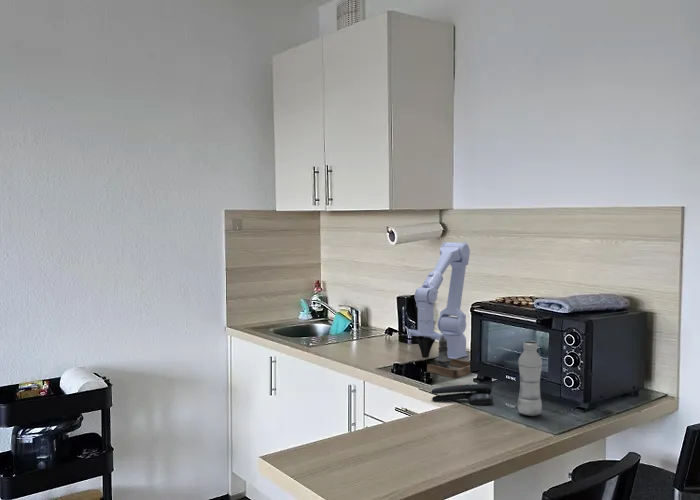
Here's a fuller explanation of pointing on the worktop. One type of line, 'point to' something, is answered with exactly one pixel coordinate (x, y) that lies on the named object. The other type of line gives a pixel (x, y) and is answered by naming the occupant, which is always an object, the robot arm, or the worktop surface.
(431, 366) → the walnut corral
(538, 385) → the plastic bottle
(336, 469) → the worktop surface
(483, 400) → the can opener
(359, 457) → the worktop surface
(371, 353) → the worktop surface
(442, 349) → the grey stone vase
